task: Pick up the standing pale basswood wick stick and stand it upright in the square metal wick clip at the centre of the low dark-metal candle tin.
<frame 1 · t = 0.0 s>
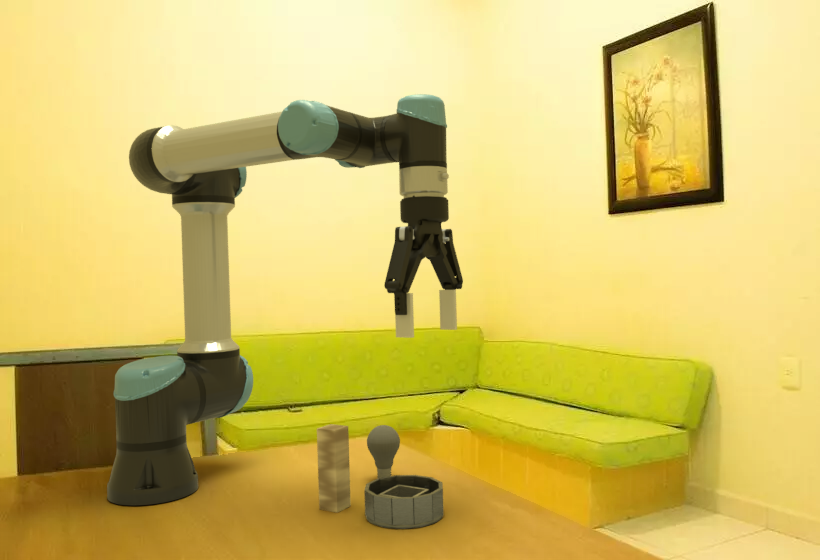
hand: (427, 333, 112), 28 cm above the table, fingers open, 13 cm apart
wick: (335, 507, 116), on the table
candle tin: (404, 515, 111), on the table
light bulb: (384, 481, 130), on the table
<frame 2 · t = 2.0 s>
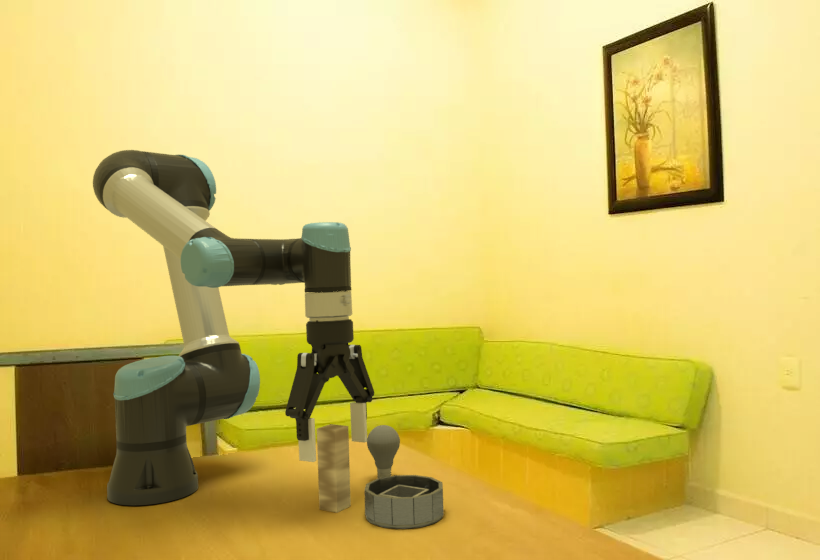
hand: (334, 450, 115), 9 cm above the table, fingers open, 13 cm apart
nothing on the table moved.
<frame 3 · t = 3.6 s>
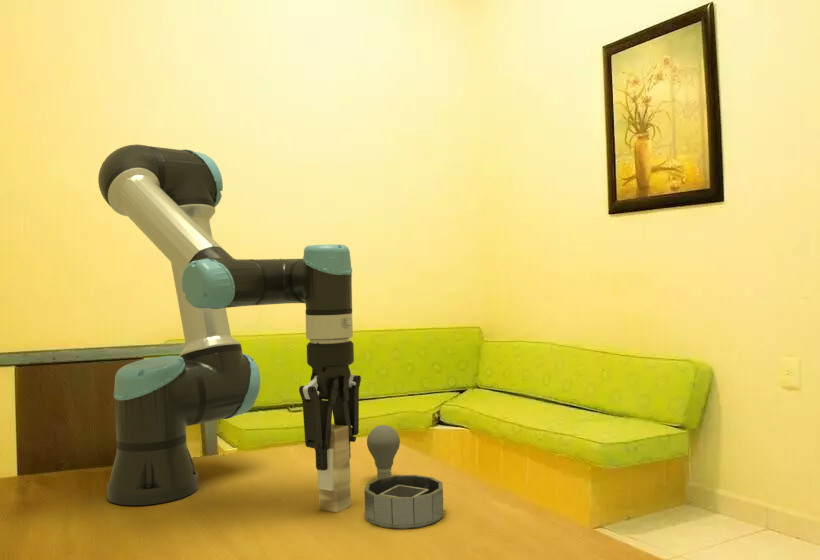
hand: (334, 485, 116), 4 cm above the table, fingers closed on wick, 4 cm apart
wick: (335, 507, 116), on the table, touching gripper
everything else where it was.
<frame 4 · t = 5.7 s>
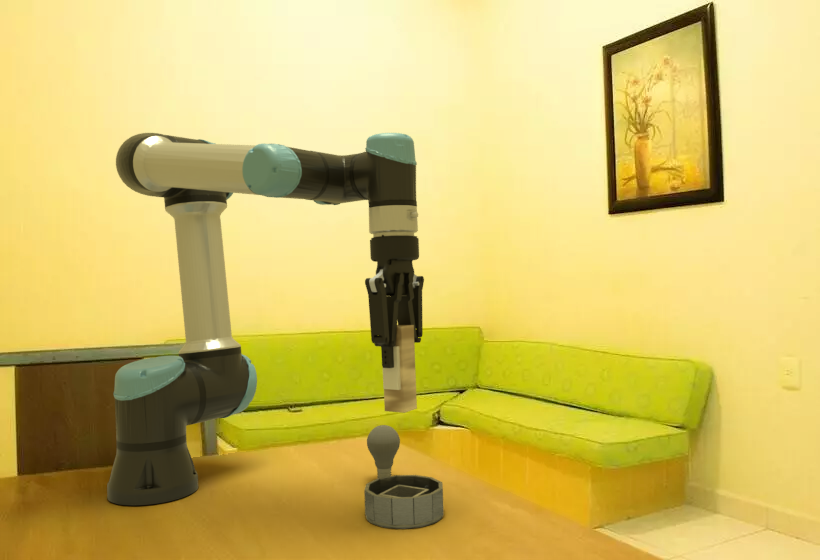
hand: (399, 386, 111), 20 cm above the table, fingers closed on wick, 4 cm apart
wick: (400, 409, 111), point 16 cm above the table, touching gripper
everything else where it was.
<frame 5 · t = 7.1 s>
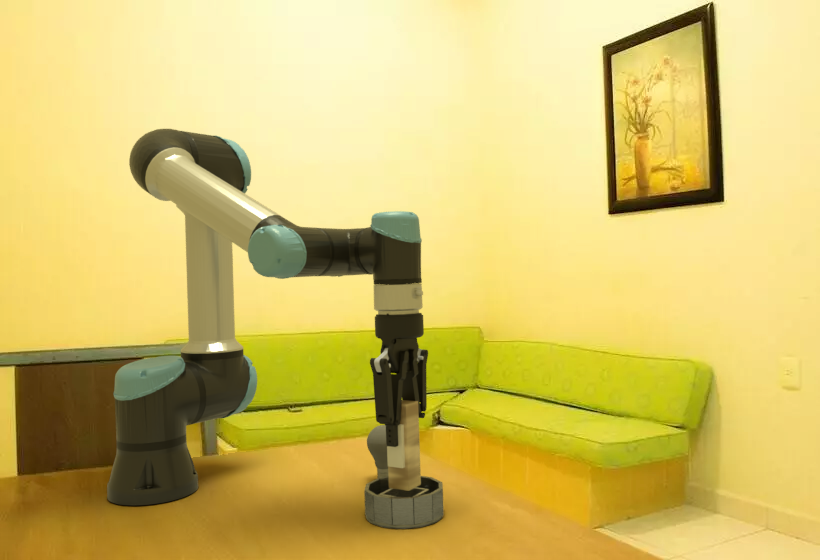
hand: (403, 462, 111), 8 cm above the table, fingers closed on wick, 4 cm apart
wick: (404, 486, 111), point 5 cm above the table, touching gripper
everything else where it was.
when the fingers open (6 cm above the table, at t = 8.1 s): wick drops 2 cm, resting on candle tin.
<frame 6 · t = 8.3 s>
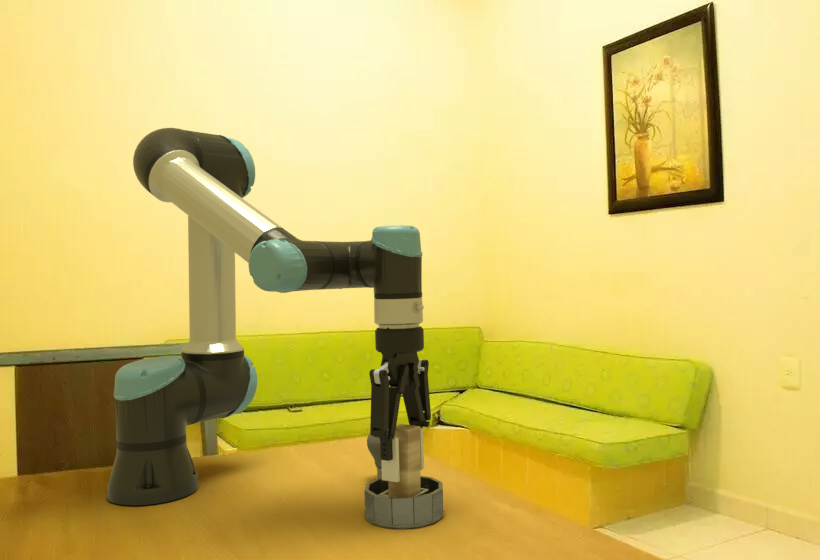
hand: (403, 474, 111), 6 cm above the table, fingers open, 7 cm apart
wick: (404, 510, 111), point 1 cm above the table, touching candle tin
everything else where it was.
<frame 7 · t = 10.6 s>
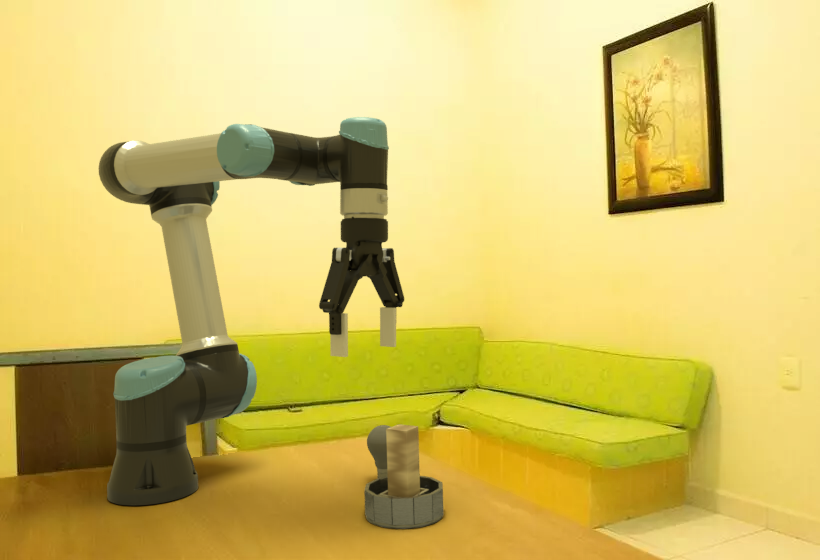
hand: (364, 351, 114), 25 cm above the table, fingers open, 13 cm apart
nothing on the table moved.
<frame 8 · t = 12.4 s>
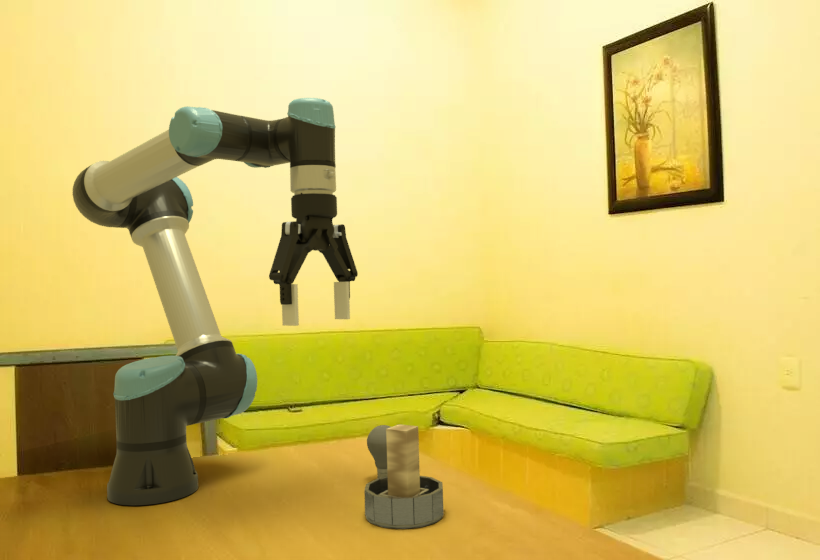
hand: (317, 322, 119), 30 cm above the table, fingers open, 13 cm apart
nothing on the table moved.
at the end: wick 0.0 cm off-centre on the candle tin, point 0.6 cm above the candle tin's base; wick tilted 0°; the gripper is holding nothing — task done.
